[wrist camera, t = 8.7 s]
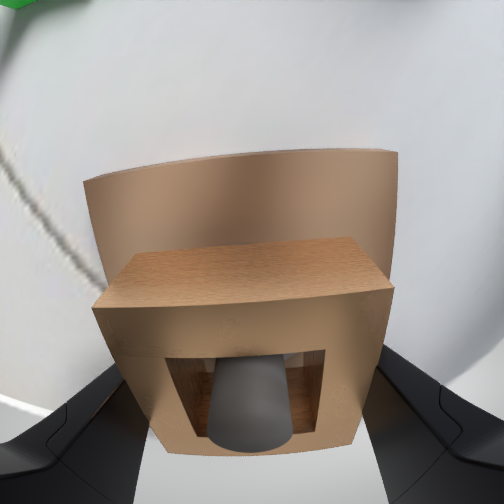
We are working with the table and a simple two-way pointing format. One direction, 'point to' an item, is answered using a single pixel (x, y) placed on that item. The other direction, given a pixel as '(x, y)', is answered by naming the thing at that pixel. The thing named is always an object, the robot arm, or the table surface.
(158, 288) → the wooden collar
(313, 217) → the post stand
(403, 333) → the table surface
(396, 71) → the table surface
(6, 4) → the mechanical part
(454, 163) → the table surface
